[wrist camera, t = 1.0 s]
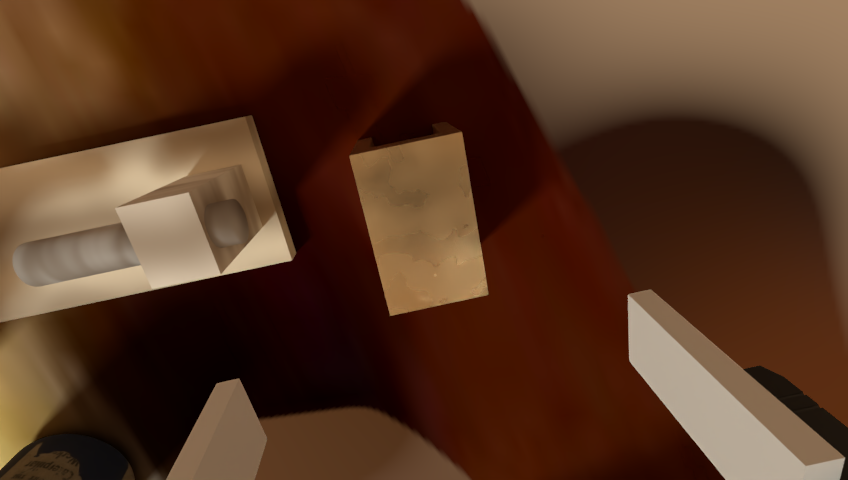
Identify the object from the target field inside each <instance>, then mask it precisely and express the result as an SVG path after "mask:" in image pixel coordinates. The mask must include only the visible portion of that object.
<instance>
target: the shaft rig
mask: <svg viewBox="0 0 848 480" xmlns="http://www.w3.org/2000/svg"><path fill="white" fill-rule="evenodd" d="M295 254H296V250H295V247H294V244H293V241H292V238H291V235H290V232H289V229H288V226H287V222H286V219H285V216H284V213H283V210H282V207H281V204H280V201H279V198H278V195H277V191H276V188H275V185H274V182H273V179H272V176H271V173H270V170H269V167H268V164H267V160H266V157H265V154H264V151H263V148H262V145H261V142H260V139H259V136H258V132H257V129H256V126H255V123H254V120H253V117H252V115H251V116H246V117H241V118H236V119H232V120H227V121H222V122H217V123H213V124H208V125H203V126H198V127H194V128H189V129H184V130H179V131H175V132H170V133H165V134H160V135H156V136H151V137H146V138H141V139H137V140H132V141H127V142H122V143H118V144H113V145H108V146H103V147H99V148H94V149H89V150H85V151H80V152H75V153H70V154H66V155H61V156H56V157H51V158H47V159H42V160H37V161H32V162H28V163H23V164H18V165H13V166H9V167H4V168H0V322H5V321H9V320H14V319H19V318H24V317H28V316H33V315H38V314H42V313H47V312H52V311H56V310H61V309H66V308H70V307H75V306H80V305H85V304H89V303H94V302H99V301H103V300H108V299H113V298H117V297H122V296H127V295H132V294H136V293H141V292H146V291H150V290H155V289H160V288H164V287H169V286H174V285H179V284H183V283H188V282H193V281H197V280H202V279H207V278H211V277H216V276H221V275H225V274H230V273H235V272H240V271H244V270H249V269H254V268H258V267H263V266H268V265H272V264H277V263H282V262H287V261H291V260H293V258H294V256H295Z"/></svg>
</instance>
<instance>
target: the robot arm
mask: <svg viewBox="0 0 848 480" xmlns="http://www.w3.org/2000/svg"><path fill="white" fill-rule="evenodd" d="M628 324H629V361H630V362H631V364H632V365H633V366H634V367H635V369H636V370H637V371H638V372H639V373H640V375H641V376H642V377H643V378H644V380H645V381H646V382H647V383H648V385H649V386H650V387H651V388H652V390H653V391H654V392H655V393H656V394H657V396H658V397H659V398H660V399H661V401H662V402H663V403H664V404H665V406H666V407H667V408H668V409H669V410H670V412H671V413H672V414H673V415H674V417H675V418H676V419H677V420H678V422H679V423H680V424H681V425H682V427H683V428H684V429H685V430H686V431H687V433H688V434H689V435H690V436H691V438H692V439H693V440H694V441H695V443H696V444H697V445H698V446H699V448H700V449H701V450H702V451H703V452H704V454H705V455H706V456H707V457H708V459H709V460H710V461H711V462H712V464H713V465H714V466H715V467H716V469H717V470H718V471H719V472H720V473H721V475H722V476H723V477H724V478H725V480H848V428H847V427H846V426H845V425H844V424H842V423H841V422H840V421H839V420H837V419H836V418H835V417H833V416H832V415H831V414H830V413H828V412H827V411H826V410H825V409H823V408H820V407H819V406H818V404H817V403H816V402H814V401H813V400H812V399H811V398H810V397H808V396H807V395H804V394H803V392H802V391H801V390H800V389H798V388H797V387H796V386H795V385H793V384H792V383H791V382H790V381H788V380H787V379H786V378H784V377H783V376H781V375H779V374H776V373H774V372H772V371H770V370H768V369H766V368H764V367H762V366H756V367H751V368H747V369H742V368H741V367H740V366H739V365H737V364H736V363H735V362H734V361H733V360H732V359H731V358H729V357H728V356H727V355H726V354H725V353H724V352H722V351H721V350H720V349H719V348H718V347H716V345H714V344H713V343H712V342H711V341H710V340H709V339H707V338H706V337H705V336H704V335H703V334H702V333H700V332H699V331H698V330H697V329H696V328H695V327H694V326H692V325H691V324H690V323H689V322H688V321H687V320H685V319H684V318H683V317H682V316H681V315H680V314H679V313H677V312H676V311H675V310H674V309H673V308H672V307H670V306H669V305H668V304H667V303H666V302H665V301H663V300H662V299H661V298H660V297H659V296H658V295H657V294H655V293H654V292H653V291H652V290H646V291H641V292H636V293H632V294H628ZM266 441H267V437H266V436H265V433H264V431H263V429H262V427H261V425H260V422H259V420H258V418H257V416H256V414H255V411H254V409H253V407H252V405H251V403H250V401H249V398H248V396H247V394H246V392H245V390H244V387H243V385H242V383H241V381H240V379H234V380H229V381H225V382H220V383H217V384H216V386H215V387H214V389H213V391H212V393H211V395H210V397H209V399H208V401H207V403H206V405H205V406H204V408H203V410H202V412H201V414H200V416H199V418H198V420H197V422H196V424H195V426H194V427H193V429H192V431H191V433H190V435H189V437H188V439H187V441H186V443H185V445H184V447H183V448H182V450H181V452H180V454H179V456H178V458H177V460H176V462H175V464H174V466H173V468H172V469H171V471H170V473H169V475H168V477H167V479H166V480H254V479H255V476H256V473H257V470H258V467H259V463H260V460H261V457H262V454H263V451H264V448H265V444H266Z"/></svg>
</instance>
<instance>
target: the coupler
mask: <svg viewBox="0 0 848 480" xmlns="http://www.w3.org/2000/svg"><path fill="white" fill-rule="evenodd" d="M432 128H433V135H428V136H423V137H418V138H414V139H409V140H404V141H400V142H395V143H390V144H385V145H381V146H376V147H374V144H373V139H372V137H371V138H366V139H362V140H358V141H357V143H356V144H355V146H354V148H353V150H352V152H351V153H350V155H349V157H350V161H351V164H352V168H353V172H354V176H355V180H356V184H357V188H358V192H359V196H360V200H361V204H362V207H363V211H364V215H365V219H366V223H367V227H368V231H369V235H370V239H371V243H372V247H373V250H374V254H375V258H376V262H377V266H378V270H379V274H380V278H381V282H382V286H383V290H384V293H385V297H386V301H387V305H388V309H389V313H390V316H392V315H396V314H401V313H406V312H410V311H415V310H420V309H424V308H429V307H434V306H438V305H443V304H448V303H452V302H457V301H462V300H466V299H471V298H476V297H480V296H485V295H489V294H488V288H487V282H486V275H485V269H484V263H483V257H482V251H481V245H480V239H479V233H478V227H477V220H476V214H475V208H474V202H473V196H472V190H471V184H470V178H469V172H468V165H467V159H466V153H465V147H464V141H463V135H462V131H460V130H458V129H457V128H455V127H454V126H452V125H450V124H449V123H447V122H442V123H437V124H433V125H432Z"/></svg>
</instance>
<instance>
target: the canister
mask: <svg viewBox="0 0 848 480" xmlns="http://www.w3.org/2000/svg"><path fill="white" fill-rule="evenodd" d="M0 480H135V477H134V473H133V470H132V468H131V466H130V464H129V462H128V461H127V460H126V458H125V457H124V456H123V455H122V454H121V453H120V452H119V451H118V450H116V449H115V448H113V447H112V446H111V445H109V444H107V443H105V442H103V441H100V440H98V439H95V438H92V437H89V436H85V435H77V434H59V435H52V436H48V437H44V438H42V439H39V440H37V441H35V442H33V443H31V444H29V445H27V446H26V447H24V448H23V449H22V450H21V451H19V452H18V453H17V454H16V455H15V456H14V457H13V458H12V459H11V460H10V461H9V462H8V463H7V464H6V465H5V466H4V467H3V468H2V469H1V470H0Z"/></svg>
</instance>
